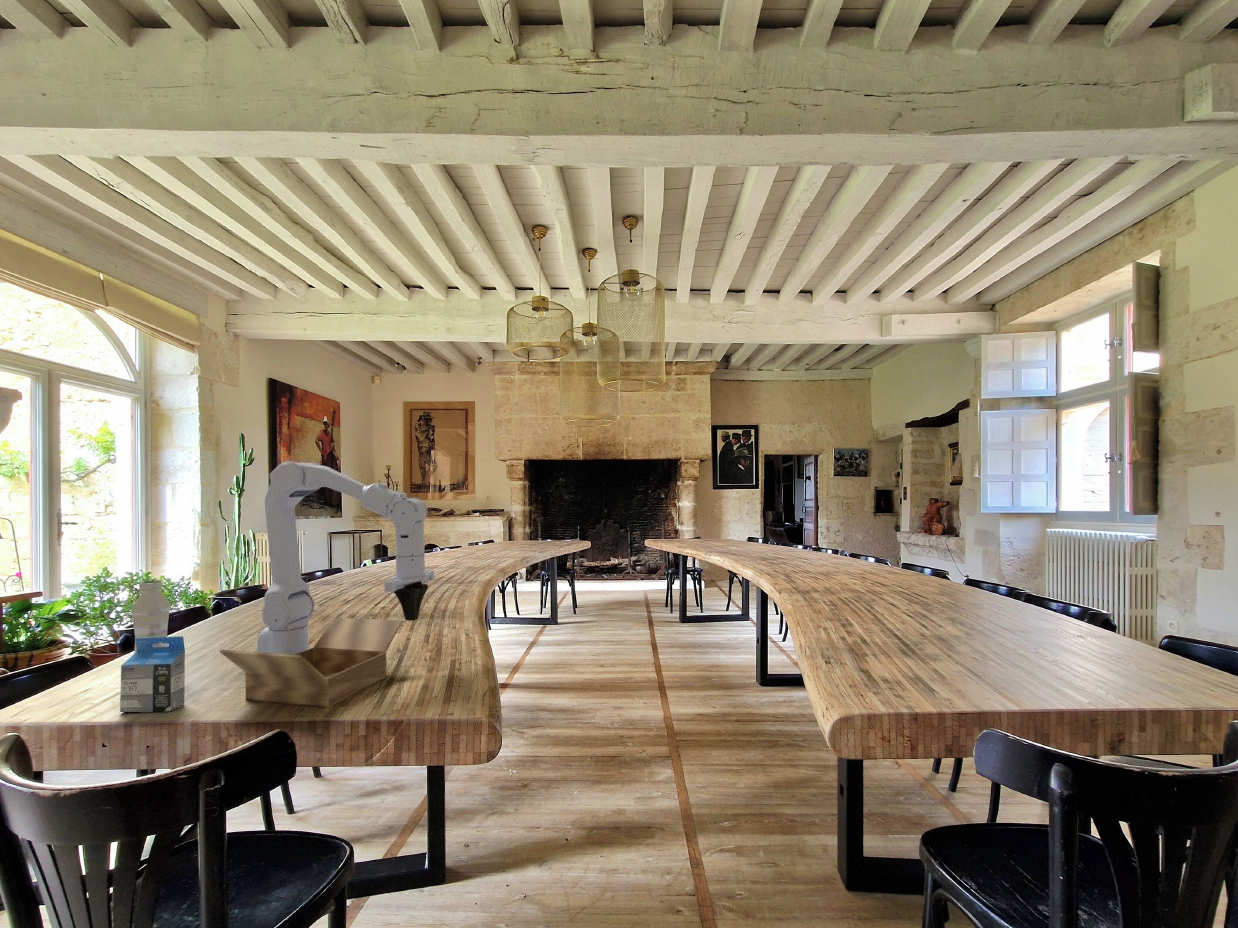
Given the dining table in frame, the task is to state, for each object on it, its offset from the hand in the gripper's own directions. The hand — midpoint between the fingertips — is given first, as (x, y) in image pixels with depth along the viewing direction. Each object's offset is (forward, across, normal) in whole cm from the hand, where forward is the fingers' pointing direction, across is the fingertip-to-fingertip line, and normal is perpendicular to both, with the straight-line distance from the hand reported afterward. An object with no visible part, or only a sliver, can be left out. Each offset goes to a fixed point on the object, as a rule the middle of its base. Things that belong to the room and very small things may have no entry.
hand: (411, 619), depth 126 cm
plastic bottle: (+10, -18, +49) cm, 53 cm away
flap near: (+2, -25, +10) cm, 27 cm away
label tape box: (+10, -30, +32) cm, 45 cm away
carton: (+10, -15, +10) cm, 21 cm away
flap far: (+2, -4, +10) cm, 11 cm away
